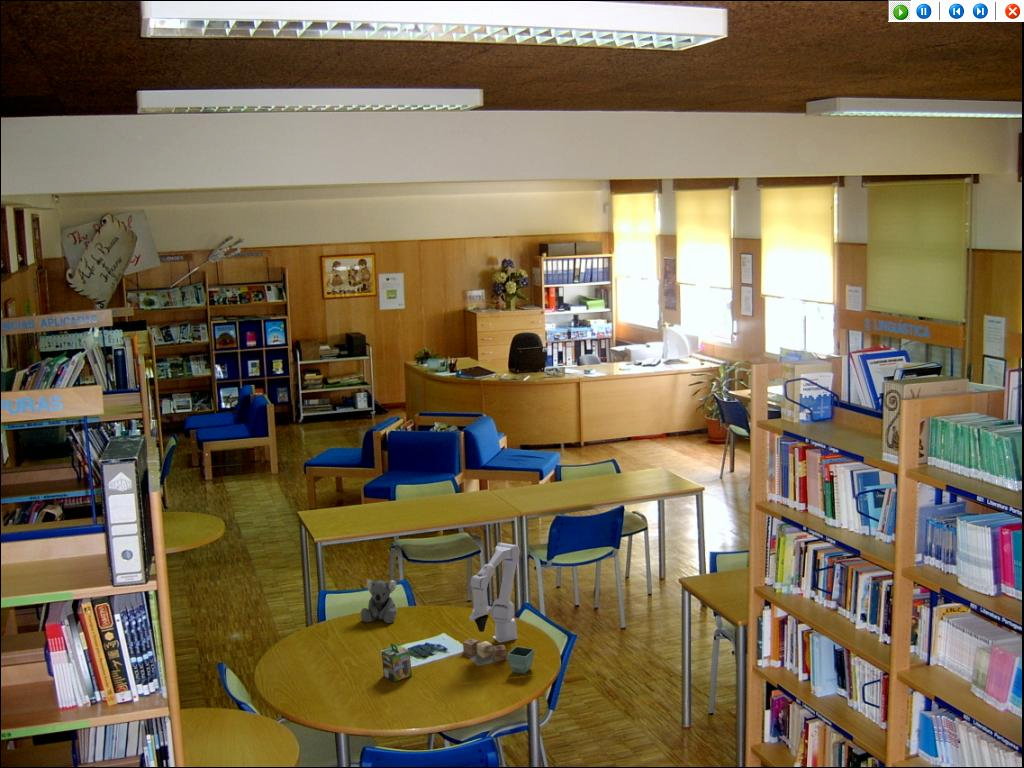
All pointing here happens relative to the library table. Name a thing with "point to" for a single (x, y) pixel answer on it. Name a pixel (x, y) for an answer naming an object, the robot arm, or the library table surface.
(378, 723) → the library table surface
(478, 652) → the plain block
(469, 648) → the pip block two
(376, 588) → the koala plush
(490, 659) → the felt mat
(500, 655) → the pip block one
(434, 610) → the library table surface
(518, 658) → the flower pot
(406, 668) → the green printed carry box
